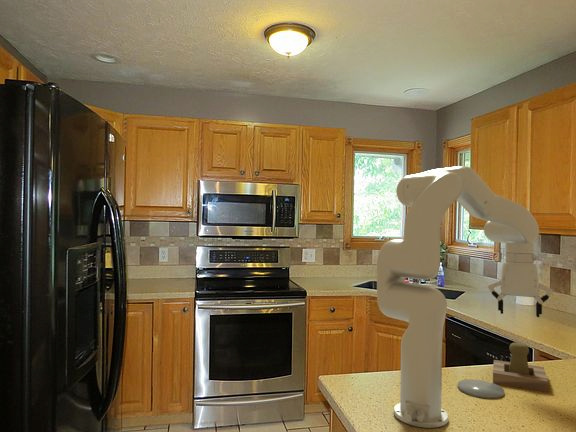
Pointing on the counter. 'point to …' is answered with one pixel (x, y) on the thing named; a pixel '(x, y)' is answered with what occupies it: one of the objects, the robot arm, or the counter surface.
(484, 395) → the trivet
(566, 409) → the counter surface
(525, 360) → the cork
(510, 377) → the frame
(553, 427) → the counter surface
